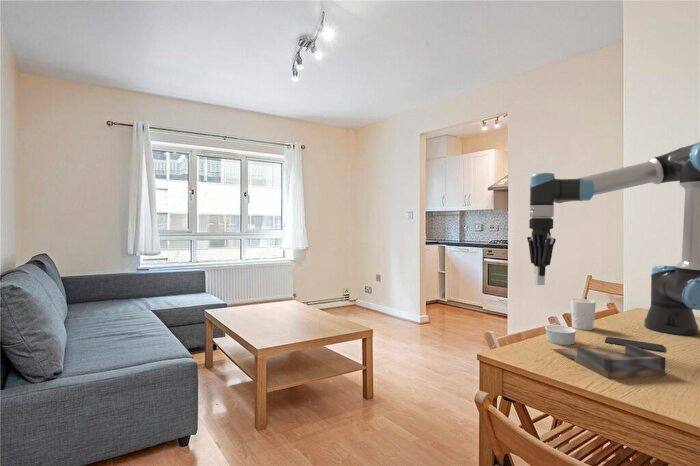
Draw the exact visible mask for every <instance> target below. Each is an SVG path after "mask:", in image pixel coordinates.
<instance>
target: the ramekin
mask: <svg viewBox="0 0 700 466" xmlns="http://www.w3.org/2000/svg"><path fill="white" fill-rule="evenodd" d="M544 330H545V336H546V340H547V341H548V342H549V343H552V344H554V345H559V344H560V345H562V346H572V345H574V344H575V339H576V334H577V330H576V328H574V327H572V326H566V325H561V324H559V325H558V324H548V325H545V326H544ZM571 344H572V345H571Z"/></svg>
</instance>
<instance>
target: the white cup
mask: <svg viewBox="0 0 700 466" xmlns="http://www.w3.org/2000/svg"><path fill="white" fill-rule="evenodd" d="M596 306H597V302H596V300H592V299H586V298H571V299H570V314H571V328H573V329H575V330H576V329H577V330H582V331H592V329H593V330H594V323H595V318H596V308H597V307H596Z"/></svg>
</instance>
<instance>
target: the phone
mask: <svg viewBox="0 0 700 466" xmlns="http://www.w3.org/2000/svg"><path fill="white" fill-rule="evenodd" d="M604 343H605V344H609V345H614V344H615V346H621V347H625V344H630V345H633V346H636V347H638V348H641V349H644V350H646V351H649V352H656V353H665V345H663V344H659V343H651V342H646V341H638V340H632V339H624V338H620V337H612V336H611V337H610V336H607V337H606V338H605V340H604Z"/></svg>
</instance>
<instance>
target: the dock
mask: <svg viewBox="0 0 700 466" xmlns="http://www.w3.org/2000/svg"><path fill="white" fill-rule="evenodd" d="M596 347H597V348H589V347H584V346H581V345H579V346H578V345H577V346H576V348H577V349H567V348H551V349H550V350H551V351H553V352H555V353H557V354H560V355H561V356H563V357H564V358H567V359H568V358H569V359H571V360H573V361H574V362H575V363H577V364H579V365H581V366H582V367H584V368H586V369H589V370H590V371H592V372H595V373H597V374H599V375H600V376H602V377H604V378H606V379H620V378H621V379H622V378H623V379H624V378H639V377H658V376H661V377H662V376H666V359H667V358H666V357H665V356H663V355H659V354H657V353H654V352H653V351H650V350H644V349H641V348H638V347H636V346H633V345H630V344H625V346H624V352H621V351H617V350H613V349H612V350H611V349H608V348H604V347H599V346H596Z"/></svg>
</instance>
